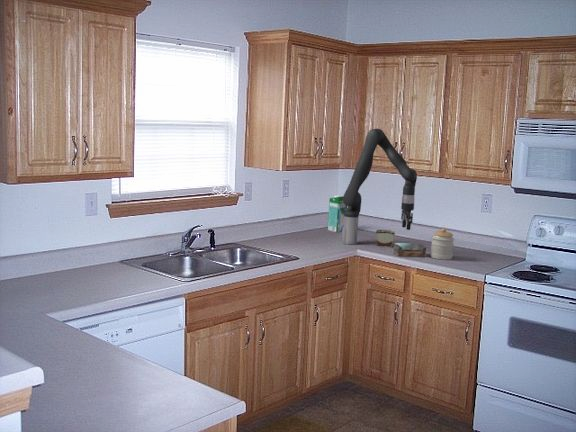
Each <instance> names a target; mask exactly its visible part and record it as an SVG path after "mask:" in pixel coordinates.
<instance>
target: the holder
mask: <svg viewBox="0 0 576 432" xmlns="http://www.w3.org/2000/svg"><path fill="white" fill-rule="evenodd" d="M392 254H394V255H395V256H397V257H398V258H399V257H405V258H407V257H409V258H410V257H411V258H426V257H427V247H426V246H424V245H422V244H417V249H414V248H413V249H402V247H401V246H399V245H398V244H395V243H394V244H393V253H392Z"/></svg>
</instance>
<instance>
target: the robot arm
mask: <svg viewBox="0 0 576 432" xmlns="http://www.w3.org/2000/svg"><path fill="white" fill-rule="evenodd" d="M377 146H379V147H380V148H381V149H382V151H384V153H385V155H386V157H387V158H388V160H389V161H390V163H391V164H392V165H393V166H394V167H395V168H396V170H397V171H398V173H399V175H400V176H401V177H402V178H403V179H404V180H405V181H404V185H403V187H402V197H401V207H400V209H401V217H400V219H401V227H402V228H406V230H407V231H410V230H411V225H412V224H413V220H414V219H413V218H414V217H413V216H414V213H413V212H412V211H414V210H415V192H416V184H417V179H418V173H417V171H416V170H415V169H413V168H410V167H409V165H408V164H407V163H408V162H407V161H406V160H405V158H404V157H403V156H402V155H401V153H399V152H398V150H397V149H396V148H395V147H394V145H392V143H391V141H390V140H389V139H388V137H387V135H386V134H385V132H384V131H383V130H382V129H381V128H371V129H370V130H369V131H368V132H367V134H366V137H365V141H364V144H363V147H362V150H361V153H360V154H359V158H358V160H357V163H356V164H355V168H354V171H353V173H352V176H351V179H350V182H349V184H348V186H347V188H346V190H345V191H344V194H343V202H344V204H345V205H346V206H347V210H346V211H345V212H344V225H343V228H342V232H341V244H343V245H344V244H345V245H357V244H358V230H359V215H360V213H361V207H362V195H361V193H360V192H359V190H360V188H361V186H362V185H363V184H364V182H365V181H366V180H367V179H368V177H369V175H370V173H371V170H372V167H373V163H374V162H373V161H374V153H375V151H376V148H377Z"/></svg>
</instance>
